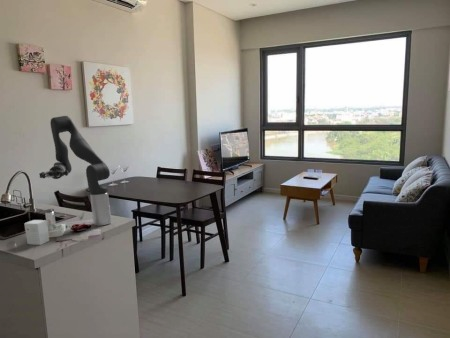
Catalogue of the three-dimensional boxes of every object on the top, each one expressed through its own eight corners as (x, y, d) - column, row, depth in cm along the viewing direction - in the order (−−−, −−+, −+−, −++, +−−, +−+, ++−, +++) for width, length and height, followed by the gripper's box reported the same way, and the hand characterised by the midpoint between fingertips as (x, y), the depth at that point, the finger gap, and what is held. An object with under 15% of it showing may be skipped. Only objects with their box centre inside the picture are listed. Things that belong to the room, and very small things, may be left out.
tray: (65, 229, 183) (64, 223, 182) (62, 235, 172) (61, 230, 172) (43, 232, 180) (42, 226, 179) (37, 239, 169) (37, 233, 169)
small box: (49, 241, 166) (46, 220, 164) (40, 245, 161) (37, 223, 159) (36, 240, 168) (33, 219, 167) (27, 244, 163) (23, 223, 161)
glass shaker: (57, 230, 178) (54, 208, 177) (55, 233, 175) (52, 210, 173) (48, 231, 177) (46, 209, 176) (46, 234, 174) (44, 211, 172)
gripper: (43, 166, 200) (36, 170, 185) (69, 164, 204) (65, 167, 188) (45, 179, 201) (38, 183, 186) (71, 176, 205) (66, 181, 190)
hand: (51, 175), depth 187 cm, fingers open, 8 cm apart
